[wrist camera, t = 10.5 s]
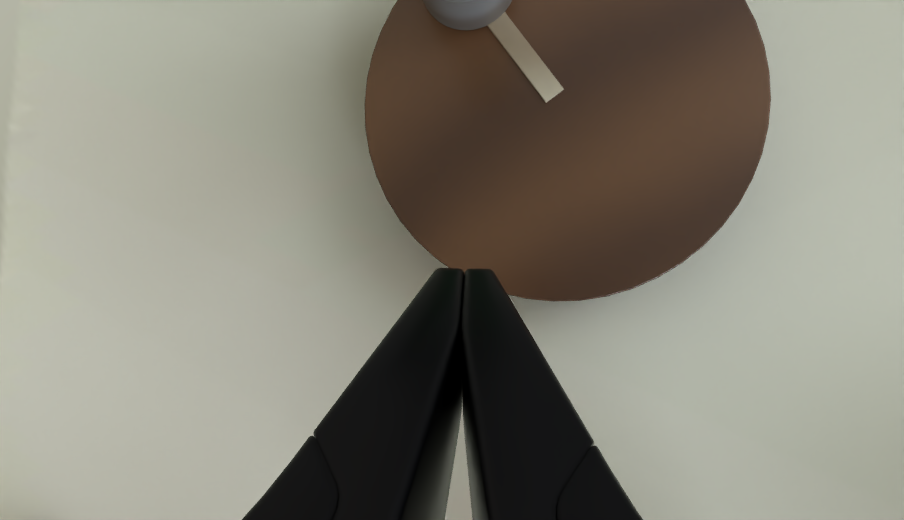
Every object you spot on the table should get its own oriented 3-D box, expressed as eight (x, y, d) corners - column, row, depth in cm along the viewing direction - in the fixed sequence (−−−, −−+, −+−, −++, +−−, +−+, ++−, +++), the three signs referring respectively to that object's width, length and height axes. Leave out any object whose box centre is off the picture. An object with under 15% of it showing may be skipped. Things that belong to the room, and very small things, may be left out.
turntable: (836, 147, 18) (1342, -49, 7) (514, 372, 19) (505, 513, 8) (595, -148, 19) (696, -723, 8) (306, 81, 20) (47, -145, 9)
